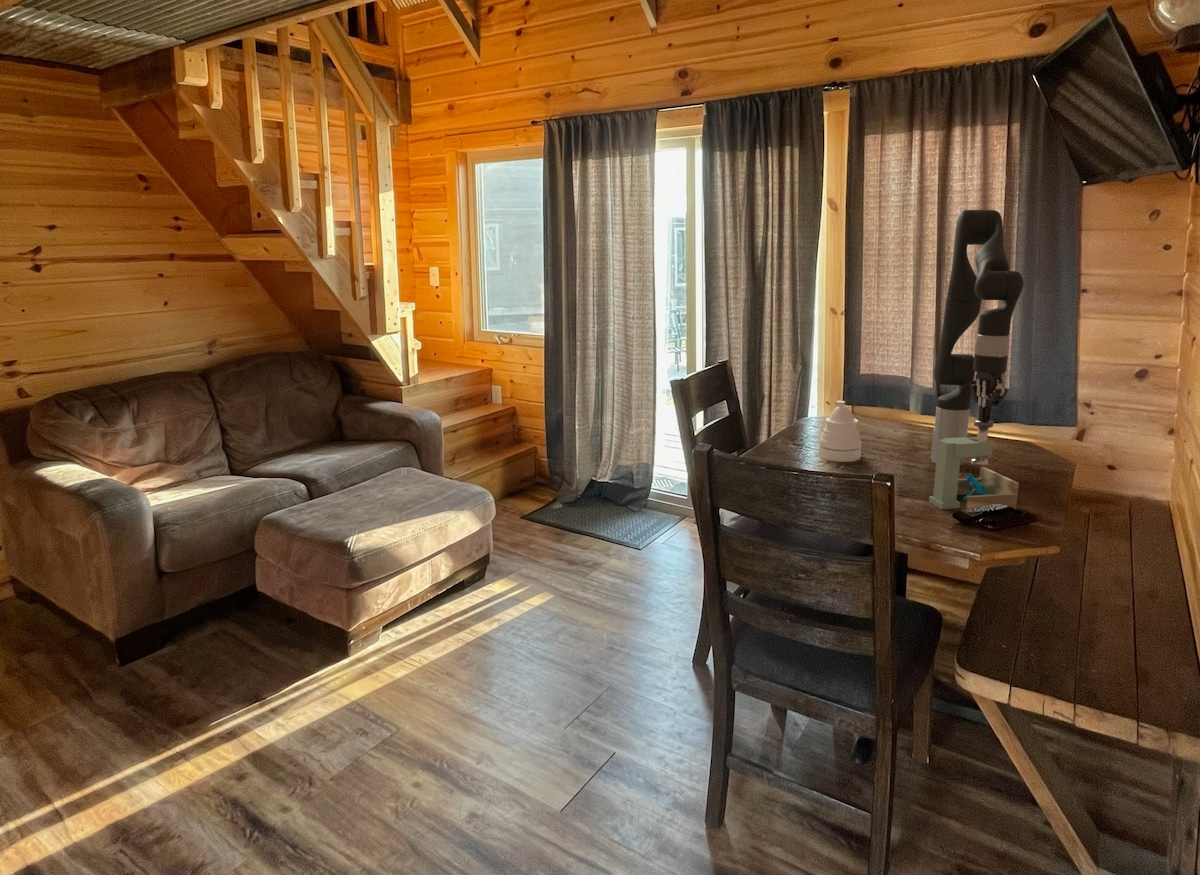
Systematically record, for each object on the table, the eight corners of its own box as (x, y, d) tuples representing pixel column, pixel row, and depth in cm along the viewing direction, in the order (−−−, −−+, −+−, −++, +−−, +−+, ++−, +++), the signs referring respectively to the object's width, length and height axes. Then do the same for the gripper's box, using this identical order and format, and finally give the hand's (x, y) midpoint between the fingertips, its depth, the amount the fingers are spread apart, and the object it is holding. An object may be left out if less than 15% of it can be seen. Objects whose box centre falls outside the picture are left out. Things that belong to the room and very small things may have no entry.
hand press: (928, 501, 210) (934, 438, 206) (973, 498, 212) (980, 436, 207) (941, 509, 204) (947, 444, 200) (987, 506, 206) (994, 442, 202)
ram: (966, 461, 208) (970, 419, 205) (982, 460, 208) (986, 418, 206) (976, 466, 203) (981, 423, 201) (992, 465, 204) (997, 422, 201)
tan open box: (936, 494, 214) (938, 469, 213) (981, 491, 216) (984, 467, 214) (968, 512, 201) (970, 485, 199) (1015, 509, 202) (1018, 482, 201)
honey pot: (853, 463, 245) (857, 406, 240) (812, 458, 252) (815, 401, 247) (865, 454, 255) (869, 398, 251) (825, 449, 262) (828, 394, 258)
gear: (994, 505, 202) (967, 473, 205) (974, 518, 205) (948, 487, 207) (999, 498, 211) (973, 468, 214) (979, 511, 214) (954, 481, 217)
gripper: (961, 349, 205) (955, 416, 209) (993, 357, 192) (986, 427, 196) (989, 348, 206) (981, 414, 210) (1022, 356, 193) (1014, 426, 197)
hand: (984, 420), depth 203 cm, fingers closed
